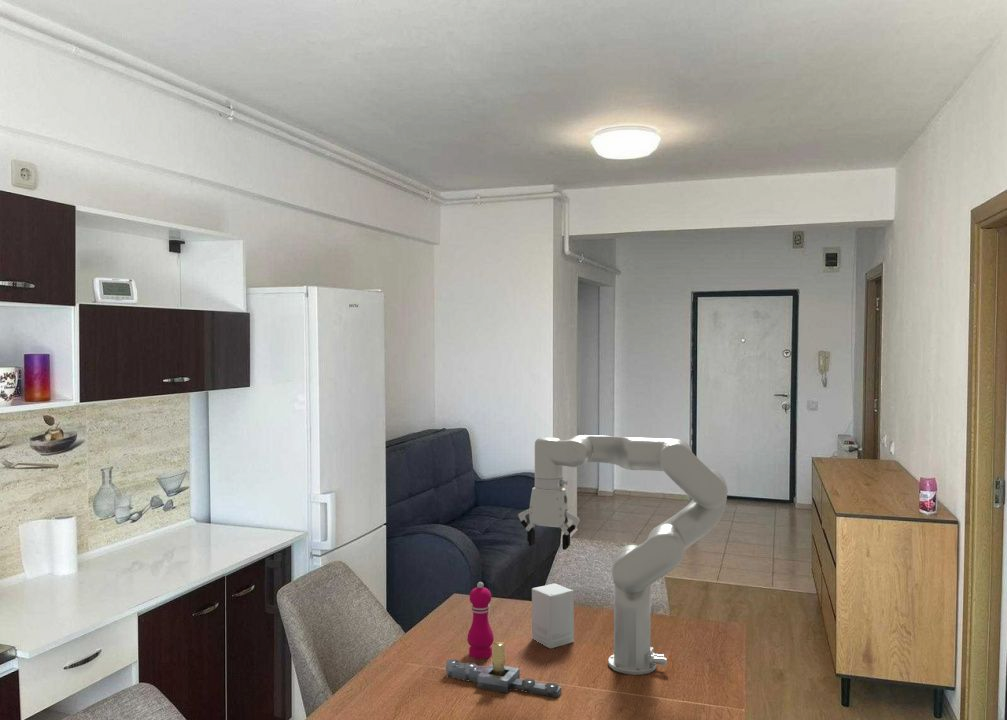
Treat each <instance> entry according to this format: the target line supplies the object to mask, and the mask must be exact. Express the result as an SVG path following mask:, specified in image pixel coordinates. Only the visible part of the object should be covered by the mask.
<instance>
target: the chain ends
mask: <svg viewBox="0 0 1007 720" xmlns="http://www.w3.org/2000/svg"><path fill="white" fill-rule="evenodd" d="M445 673H446V674H445V677H446V676H448V677H454V678H459V679H458V680H460V679H464V680H463V681H465V680H469V681H468V682H470V681H473V682H472V683H476V682H478V683H477V689H482V688H484V689H483V690H487V689H488V690H489V691H492V690H494V691H493V692H497V691H499V693H503V692H505V693H504V694H508V693H510V691H511V690H513V689H517V690H516V691H518V690H523V691H527V692H526V693H529V692H532V693H531V694H534V693H536V694H535V695H539V694H542V695H541V696H545V695H547V696H546V697H549V696H550V697H551V698H555V699H557V698H559V697H560V695H561V694H562V686H561V685H558V684H557V683H555V682H547V683H545V682H544V683H543V682H539V681H536V680H535V679H532V678H524V679H523V678H522V679H521V677H520V673H521V671H520V668H518V667H512V666H507V665H505V676H504V677H502V676H496V675H493V663H489V665H488V666H482V665H477V664H476V663H475V662H460V661H459V660H458V659H455V658H453V659H452V658H451V659H447V660H446V662H445ZM448 677H447V678H448ZM454 678H453V679H454ZM510 689H511V690H510ZM488 690H487V691H488ZM509 690H510V691H509ZM523 691H522V692H523Z"/></svg>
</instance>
